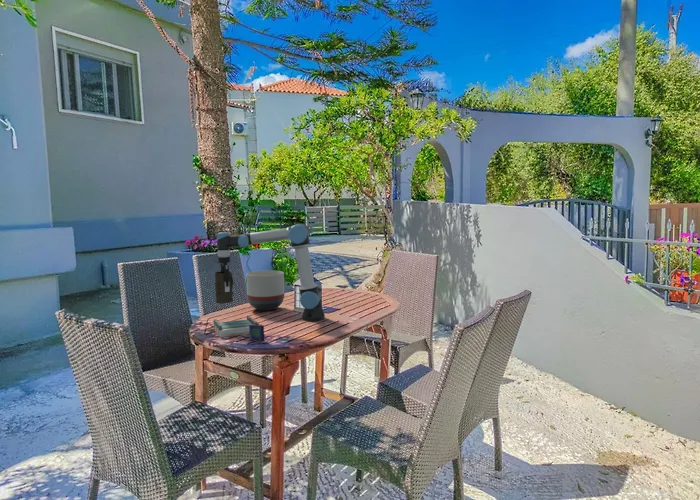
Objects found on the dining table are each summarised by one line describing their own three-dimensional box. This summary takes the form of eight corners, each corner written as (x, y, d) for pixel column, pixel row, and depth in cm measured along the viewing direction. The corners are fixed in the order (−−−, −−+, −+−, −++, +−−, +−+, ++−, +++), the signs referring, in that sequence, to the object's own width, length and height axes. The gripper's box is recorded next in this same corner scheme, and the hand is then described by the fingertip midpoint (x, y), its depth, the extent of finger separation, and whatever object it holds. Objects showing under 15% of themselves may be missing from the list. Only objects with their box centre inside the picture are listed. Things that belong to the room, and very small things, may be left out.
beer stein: (228, 304, 306) (227, 272, 305) (212, 303, 308) (211, 272, 307) (238, 300, 321) (237, 270, 320) (223, 300, 323) (222, 270, 322)
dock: (257, 332, 292) (256, 322, 291) (220, 337, 282) (219, 326, 281) (249, 325, 310) (248, 315, 309) (213, 329, 300) (213, 319, 299)
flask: (248, 340, 276) (248, 321, 275) (251, 338, 279) (250, 320, 278) (263, 341, 274) (262, 323, 273) (265, 340, 276) (265, 321, 275)
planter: (274, 315, 336) (273, 276, 333) (240, 312, 345) (239, 274, 342) (290, 306, 361) (290, 271, 359) (259, 304, 370) (258, 269, 367)
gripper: (214, 255, 319) (216, 287, 322) (221, 258, 298) (223, 293, 301) (226, 254, 323) (227, 286, 325) (233, 257, 302) (235, 292, 304)
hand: (225, 290), depth 313 cm, fingers closed on beer stein, 11 cm apart
